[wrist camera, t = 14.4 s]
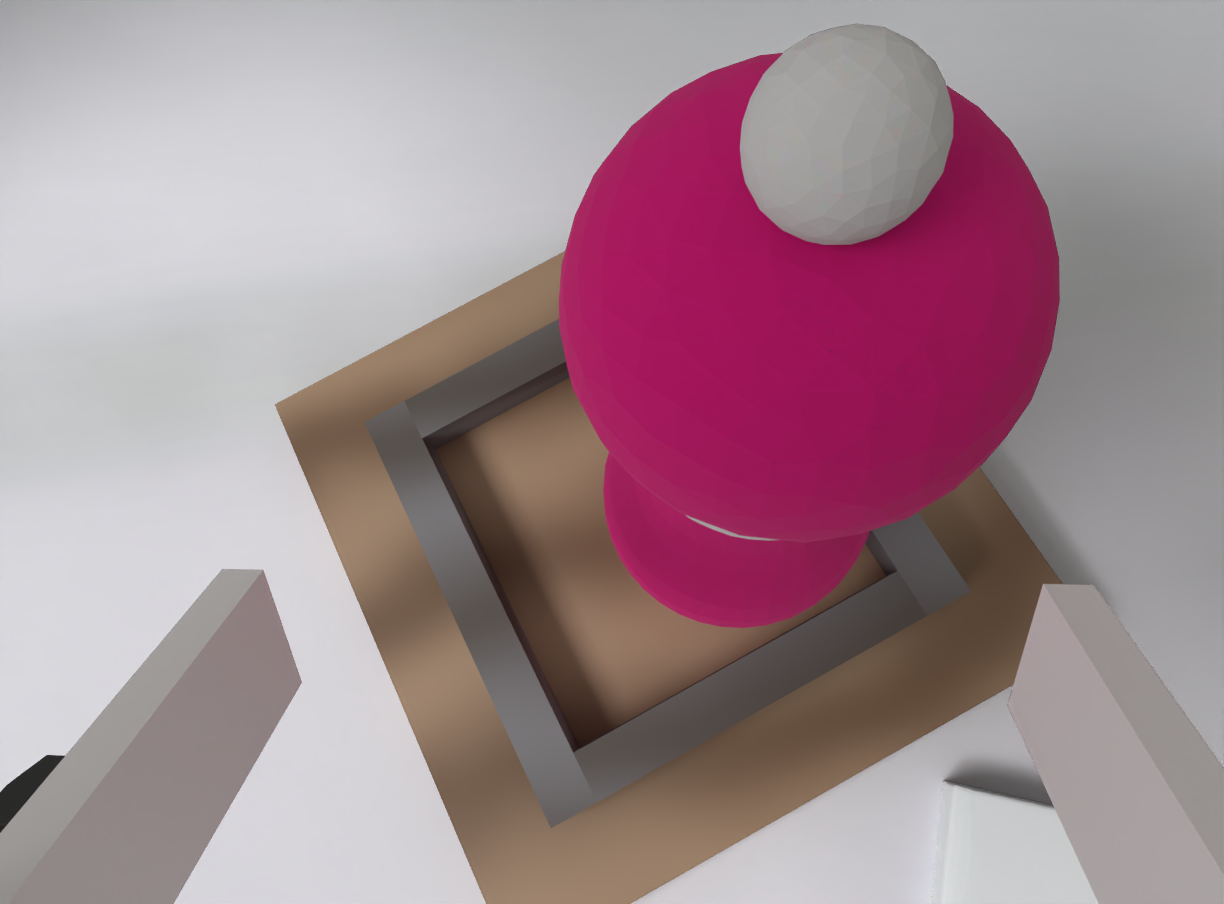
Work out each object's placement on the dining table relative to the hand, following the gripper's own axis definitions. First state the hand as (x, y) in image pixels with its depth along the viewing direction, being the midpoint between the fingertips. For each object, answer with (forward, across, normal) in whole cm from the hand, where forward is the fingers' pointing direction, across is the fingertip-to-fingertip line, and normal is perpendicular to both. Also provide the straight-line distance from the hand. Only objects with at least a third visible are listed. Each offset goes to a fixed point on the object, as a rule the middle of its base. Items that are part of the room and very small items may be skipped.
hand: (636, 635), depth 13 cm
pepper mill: (+11, +2, -5) cm, 12 cm away
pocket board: (+12, 0, -6) cm, 13 cm away
